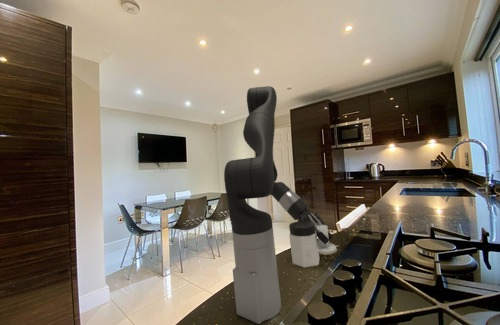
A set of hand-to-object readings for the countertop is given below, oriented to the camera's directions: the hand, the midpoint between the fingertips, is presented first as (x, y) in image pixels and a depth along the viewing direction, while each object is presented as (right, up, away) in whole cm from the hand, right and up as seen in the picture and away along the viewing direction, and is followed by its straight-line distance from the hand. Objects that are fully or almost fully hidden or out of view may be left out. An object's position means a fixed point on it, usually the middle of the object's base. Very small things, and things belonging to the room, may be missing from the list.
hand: (329, 240), depth 72 cm
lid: (-1, -4, +1) cm, 4 cm away
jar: (-10, -5, -6) cm, 13 cm away
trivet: (-1, -4, +1) cm, 4 cm away
